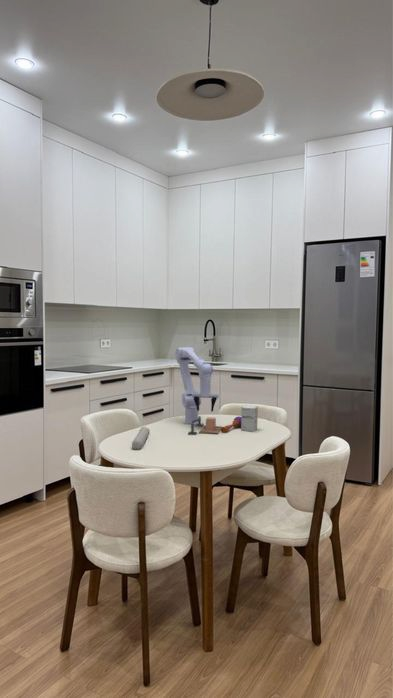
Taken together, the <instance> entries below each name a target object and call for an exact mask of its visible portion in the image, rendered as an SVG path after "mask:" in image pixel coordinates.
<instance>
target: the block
mask: <svg viewBox="0 0 393 698" xmlns="http://www.w3.org/2000/svg"><path fill="white" fill-rule="evenodd" d="M216 420H217V417H206V418H205V426H206V430H215V429H216V426H217V425H216V422H217V421H216Z"/></svg>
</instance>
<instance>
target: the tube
mask: <svg viewBox="0 0 393 698" xmlns="http://www.w3.org/2000/svg"><path fill="white" fill-rule="evenodd" d="M150 434H151V432H150V429H149V428H148V427H146V426H142V427H141V428H140V429H139V431H138V433H137V434H136V436H135V437H134V439H133V441H132V442H131V448H132V449H134V450H141V449H142V448H143V445H144V443H145V442H146V441H147V439H148V436H149V435H150Z"/></svg>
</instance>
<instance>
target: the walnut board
mask: <svg viewBox="0 0 393 698" xmlns="http://www.w3.org/2000/svg"><path fill="white" fill-rule="evenodd" d="M222 427H223V426H221V425H220V426H219V425H218V426H217V425H216V429H215V430H206V425H203V427H201V428H200V430H199V431H198V434H202V435H203V434H205V435H219V433H220V432H221V428H222Z"/></svg>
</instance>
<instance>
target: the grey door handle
mask: <svg viewBox="0 0 393 698" xmlns="http://www.w3.org/2000/svg"><path fill="white" fill-rule="evenodd" d="M196 421H198V423H197V424H193V423H194V422H196ZM204 426H205V425H204V423H202V416H201V415H198V419H196V420H194V421H192V424H190V430H189V431H188V432H187V435H188V436H196V435H197V434H198V431H195V427H199V428H203V427H204Z"/></svg>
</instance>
